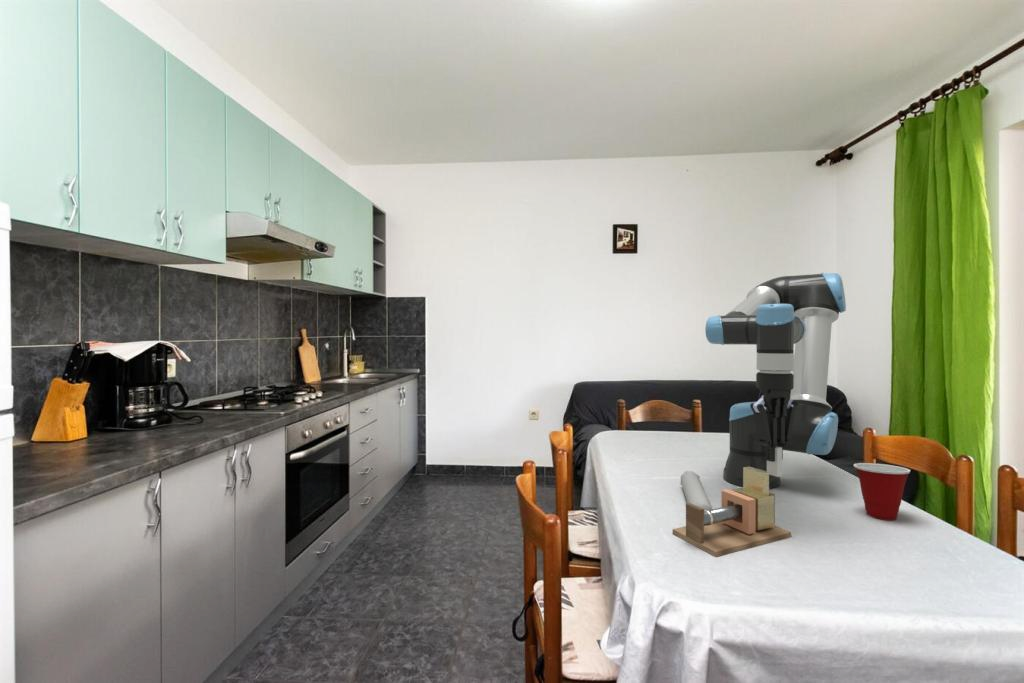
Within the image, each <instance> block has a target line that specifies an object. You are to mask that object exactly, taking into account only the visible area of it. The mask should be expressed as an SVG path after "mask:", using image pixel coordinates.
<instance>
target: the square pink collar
mask: <svg viewBox="0 0 1024 683" xmlns="http://www.w3.org/2000/svg"><path fill="white" fill-rule="evenodd" d="M732 490H733V489H729V488H726V489H722V490H721V507H726V506H730V505H734V503H737V504H740V505H742V519H740V518H737V519H732V520H728V521H723V523H725V524H727V525H729V526H731V527H734V528H736V529H738V530H740V531H743V532H745V533H747V534H752V533H755V515H756V499H754V498H751V497H748V496H745V495H743V494H740V493H737V492H734V491H732Z"/></svg>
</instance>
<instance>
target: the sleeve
mask: <svg viewBox="0 0 1024 683" xmlns="http://www.w3.org/2000/svg"><path fill="white" fill-rule="evenodd" d="M731 490H732V491H734V492H737V493H740V494H743V495H745V496H748V497H751V498H754V499H756V515H755V529H756V530H762V529H766V528H770V527H774V495H771V494H769V492H770V488H769V472H767V471H763V470H760V469H757V468H753V467H750V466H749V467H743V486H742V487H739V488H734V489H731ZM735 504H737V503H734V505H735ZM740 519H742V517H741V518H740Z"/></svg>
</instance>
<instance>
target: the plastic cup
mask: <svg viewBox="0 0 1024 683" xmlns="http://www.w3.org/2000/svg"><path fill="white" fill-rule="evenodd" d="M853 468H854V469H855V471H856V473H857V477H858V479H859V484H860V490H861V495H862V499H863V503H864V504H863V505H864V508H865V512H866V514H867V515H868V516H869V517H871V518H875V519H877V520H882V521H896V520H897V518H898V515H899V511H900V506H901V504H902V499H903V495H904V494H903V493H904V489H905V484H906V482H907V478H908V476H909V475H910V473H911V469H909V468H906V467H903V466H897V465H893V464H892V465H891V464H885V463H871V462H858V463H854V464H853Z"/></svg>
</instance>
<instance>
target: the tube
mask: <svg viewBox="0 0 1024 683" xmlns="http://www.w3.org/2000/svg"><path fill="white" fill-rule="evenodd" d="M700 478H701V477H700V475H699V474H697V473H696V472H695V471H691V470H690V471H689V470H685V471H684V472H683V473H682V474H681V476H680V485H681V487H682V491H683V494H684V496H685V499H686V502H687V503H691V504H693V505H695V506H698V507H700V508H702V509H704V510H712V509H713V506H712V503H711V502H710V499H709V496H708V494H707V492H706V490H705V488H704V485H703V484H702V482H701V479H700Z"/></svg>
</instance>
